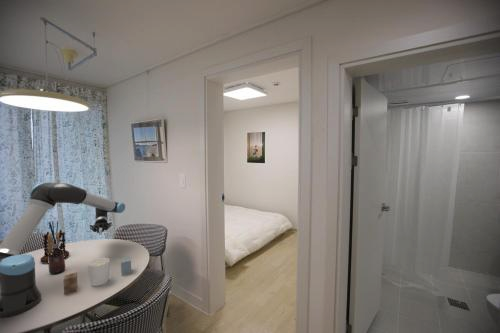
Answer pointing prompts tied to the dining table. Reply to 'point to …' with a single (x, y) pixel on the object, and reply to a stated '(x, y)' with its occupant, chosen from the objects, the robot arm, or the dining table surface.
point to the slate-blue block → (125, 266)
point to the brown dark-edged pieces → (50, 244)
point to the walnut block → (70, 283)
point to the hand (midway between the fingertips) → (100, 232)
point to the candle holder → (99, 271)
